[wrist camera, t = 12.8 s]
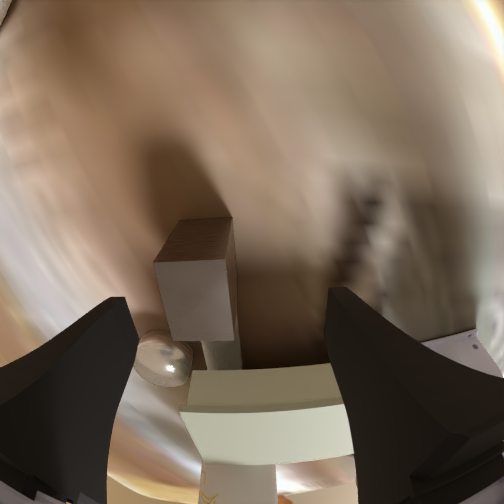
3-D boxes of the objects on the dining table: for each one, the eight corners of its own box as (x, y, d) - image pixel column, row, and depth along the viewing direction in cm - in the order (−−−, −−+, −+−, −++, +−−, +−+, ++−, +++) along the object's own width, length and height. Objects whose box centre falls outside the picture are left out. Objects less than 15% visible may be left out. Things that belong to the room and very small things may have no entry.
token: (185, 327, 23) (180, 347, 21) (199, 367, 25) (196, 387, 23) (132, 329, 23) (123, 347, 21) (150, 368, 25) (144, 386, 23)
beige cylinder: (209, 410, 28) (199, 508, 17) (281, 417, 29) (288, 512, 18) (203, 440, 31) (195, 519, 20) (264, 446, 32) (267, 524, 21)
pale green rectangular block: (387, 322, 23) (422, 386, 16) (366, 389, 27) (385, 446, 20) (194, 336, 23) (179, 411, 16) (211, 402, 27) (205, 464, 20)
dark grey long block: (232, 217, 19) (225, 259, 13) (246, 377, 25) (246, 431, 20) (179, 220, 19) (153, 262, 13) (210, 378, 25) (203, 430, 20)
